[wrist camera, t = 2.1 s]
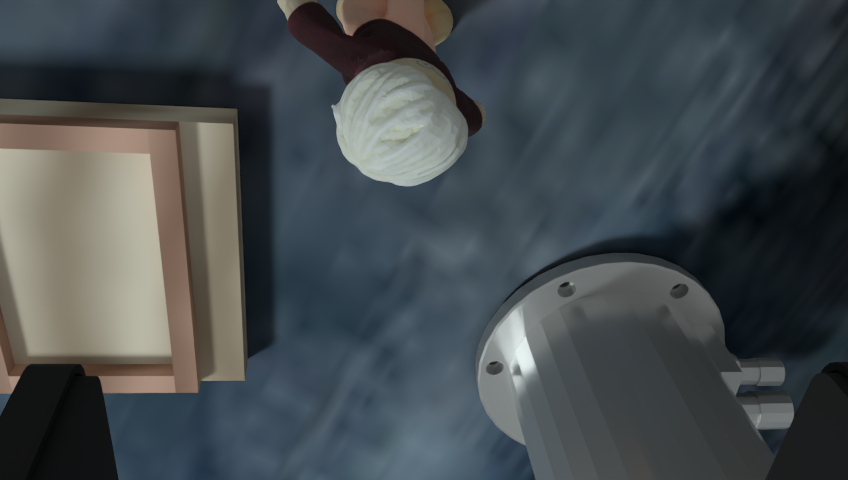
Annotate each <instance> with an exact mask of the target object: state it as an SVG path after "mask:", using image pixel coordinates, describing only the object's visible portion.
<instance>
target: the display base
mask: <svg viewBox="0 0 848 480" xmlns="http://www.w3.org/2000/svg"><path fill="white" fill-rule="evenodd" d="M247 361H248V355H247V331H246V307H245V283H244V259H243V235H242V211H241V187H240V163H239V139H238V115H237V109H230V108H207V107H184V106H161V105H138V104H115V103H92V102H69V101H46V100H23V99H0V393H12V392H13V390H14V388H15V386H16V384H17V382H18V380H19V378H20V376H21V374H22V372H23V371H24V369H25V368H26V367H27V366H28V365H30V364H81V365H82V367H83V368H84V371H85V374H86V376H98V377H99V379H100V381H101V385H102V391H103V393H198V392H199V387H200V383H201V381H245V375H246V368H247Z"/></svg>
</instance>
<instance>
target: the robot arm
mask: <svg viewBox="0 0 848 480" xmlns="http://www.w3.org/2000/svg"><path fill="white" fill-rule="evenodd" d="M475 369H476V382H477V386H478V390H479V395H480V399H481V401H482V403H483V406H484V408H485V410H486V413H487V414H488V416H489V417H490V418H491V419H492V421H493V422H494V423H495V425H496V426H497V427H498V428H499V429H500V430H502V431H503V432H504V433H505V434H507V435H508V436H509V437H510V438H512V439H514V440H516V441H517V442H519V443H521V444H523V445H525V446H526V447H527V451H528V454H529V458H530V462H531V465H532V469H533V472H534V476H535V479H536V480H848V362H834V363H829V364H828V365H826V366H825V367H824V369H823V370H822V372H821V373H818V374H816V375H815V376H814V377H813V379H812V380H811V382H810V384H809V386H808V388H807V391H806V393H805V395H804V397H803V399H802V401H801V403H800V406H799V408H798V410H797V412H796V414H795V416H794V409H793V403H792V401H791V399H790V397H789V395H788V394H787V393H786V392H784V391H746V392H745V393H737V391H738V388H739V386H740V385H752V386H780V385H781V384H782V383H783V382H784V378H785V369H784V366H783V363H782V361H781V360H779V359H778V358H750V359H738V358H737V357H736V356H735V355H734V354H731V353H730V352H729V351H728V349H727V348H726V346H725V330H724V324H723V320H722V317H721V314H720V311H719V308H718V307H717V305H716V304H715V302H714V301H713V299H712V298H711V296H710V294H709V293H708V291H707V290H706V289H705V288H704V287H703V286H702V284H701V283H700V282H699V281H698V280H697V278H696V277H694V276H693V275H691V274H690V273H689V272H687V271H686V270H684V269H683V268H682V267H680V266H678V265H676V264H673V263H671V262H669V261H666V260H664V259H661V258H658V257H653V256H648V255H643V254H638V253H607V254H600V255H593V256H587V257H583V258H580V259H577V260H574V261H570V262H567V263H564V264H561V265H559V266H557V267H555V268H553V269H551V270H549V271H546V272H544V273H542V274H540V275H538V276H537V277H535V278H534V279H533V280H531V281H530V282H528V283H527V284H525V285H524V286H522V287H521V288H519V289H518V290H517V291H516V292H515V293H514V294H513V295H512V296H511V297H510V298H509V299H508V300H507V301H505V302H504V303H503V304H502V305H501V307H500V308H499V309H498V311H497V312H496V313H495V315H494V316H493V317H492V319H491V320H490V322H489V323H488V325H487V327H486V329H485V331H484V333H483V335H482V338H481V340H480V342H479V346H478V351H477V355H476V360H475ZM793 417H794V419H793ZM785 428H789V429H788V431H787V434H786V436H785V438H784V440H783V442H782V444H781V446H780V449H779V451H778V453H777V455H776V457H774V455H773V454H772V452H771V451H770V449H769V448H768V446H767V444H766V443H765V441H764V440H763V438H762V437H761V435H760V433H759V432H758V430H757V429H785ZM0 480H118V474H117V469H116V463H115V458H114V452H113V446H112V441H111V435H110V430H109V424H108V419H107V413H106V407H105V402H104V396H103V391H102V385H101V381H100V379H99V377H98V376H86V374H85V371H84V368H83V367H82V365H81V364H30V365H28V366H27V367H26V368H25V369H24V371H23V372H22V374H21V376H20V378H19V380H18V382H17V384H16V386H15V388H14V390H13V392H12V394H11V396H10V398H9V400H8V402H7V404H6V406H5V408H4V410H3V412H2V414H1V416H0Z"/></svg>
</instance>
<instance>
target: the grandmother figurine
mask: <svg viewBox="0 0 848 480" xmlns="http://www.w3.org/2000/svg"><path fill="white" fill-rule="evenodd" d="M277 2H278V4H279V6H280V8H281V9H282V11H283V12H284V13H285V15H286V17H287V20H288V21H287V26H288V29H289V31H290V33H291V34H292V35H293V36H294V37H295V38H296V39H297V40H298V41H299V42H300V43H302V44H303V45H305V46H306V47H307V48H309V49H310V50H312V51H313V52H315V53H316V54H317V55H319V56H320V57H321V58H322V59H324V60H325V61H326V62H327V63H329V64H330V65H331V66H332V67H333V68H335V69H336V70H338V71H339V72H341V73H342V76H343V80H344V82H345V84H346V85H347V87H346V89H345V91H344V93H343V95H342V98H341V100H340V102H339V103H338V104H336V105H332V108H333V113H334V117H335V120H336V123H337V130H336V131H337V140H338V143H339V145H340V147H341V150H342V153H343V155H344V156H345V157H346V159H347V160H348V161H349V162H351V163H352V164H354V165H356V166H357V167H358V169H359V170H360V171H361V172H362V173H363V174H364V175H366V176H369V177H370V178H372V179H375V180H378V181H384V182H392V183H393V184H396V185H400V186H414V185H418V184H421V183H423V182H426V181H429V180H431V179H433V178H434V177H436V176H438V175H439V174H441V173H442V172H444V171H445V170H447V169H448V168H449V167H451V166H452V165H453V164H454V163H455V162H456V160H457V159H458V158H459V157H460V155H461V154H462V153H463V152H464V150H465V148H466V145H467V139H468V137H469V136H472V135H474V134H475V133H476V132H478V131H479V130H480V128H481V127H482V125H483V123H484V121H485V117H486V113H485V109H484V108H483V106H482V105H481V104H480V103H479V102H477V101H474V100H472V99H471V98H469V97H468V96H467V95H466V94H465V93H464V92H462V91H461V90H459V89H458V88H457V87H456V85H455V82H454V80H453V78H452V76H451V74H450V72H449V70H448V68H447V67H446V66H445V64H444V63H443V62H441V61H440V59H439V57H438V56H437V55H436V50H435V46H436V45H438V44H440V43H441V42H443V41H444V40H445V39H446V38H447V37H448V36H449V34H450V33H451V31H452V27H453V17H452V13H451V11H450V9H449V8H448V6H447V5H446V4H445V3H444V2H443V1H442V0H338V2H337V6H336V13H337V16H338V18H339V20H340V21H341V22H342V23H343V27H344V30H345V32H346V34H345V33H343V31H342V29H341V27H340V26H339V25H338V23H337V22H336V20H335V19H334V17H332V16H331V15H330V14H329V13H328V12H327V11H326V9H325V8H324V7H323V6H322V5H320V4H319V3H318V2H317V1H316V0H277Z"/></svg>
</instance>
